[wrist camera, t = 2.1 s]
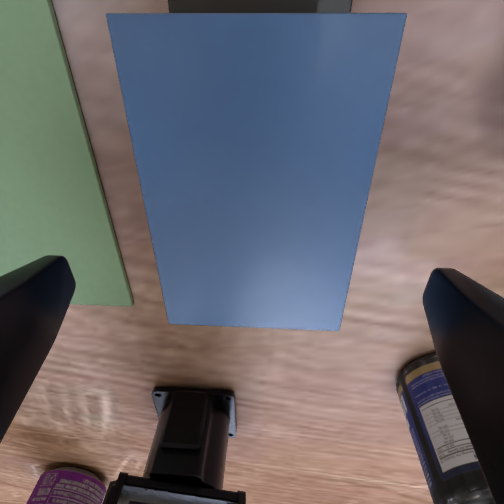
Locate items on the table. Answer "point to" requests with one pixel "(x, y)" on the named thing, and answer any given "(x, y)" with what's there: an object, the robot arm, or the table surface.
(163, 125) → the blue book
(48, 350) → the robot arm
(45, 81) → the green mat
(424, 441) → the pill bottle
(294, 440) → the table surface
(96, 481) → the beverage can
